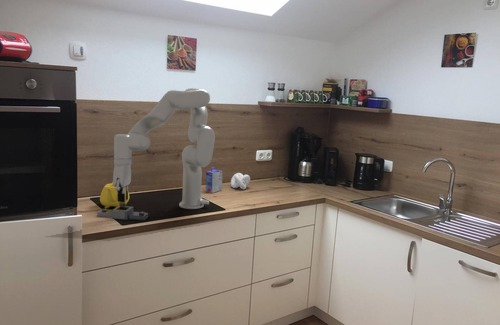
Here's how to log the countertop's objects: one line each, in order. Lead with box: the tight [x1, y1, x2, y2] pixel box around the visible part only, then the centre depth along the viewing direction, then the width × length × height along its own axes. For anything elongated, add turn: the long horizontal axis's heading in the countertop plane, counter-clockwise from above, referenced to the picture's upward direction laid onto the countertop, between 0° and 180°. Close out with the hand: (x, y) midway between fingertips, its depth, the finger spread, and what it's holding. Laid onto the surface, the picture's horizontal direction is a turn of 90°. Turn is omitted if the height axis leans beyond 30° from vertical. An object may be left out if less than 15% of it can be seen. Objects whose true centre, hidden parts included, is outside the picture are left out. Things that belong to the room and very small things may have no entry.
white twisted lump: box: [230, 172, 251, 191], centre depth 258 cm, size 11×12×9 cm
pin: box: [119, 185, 127, 207], centre depth 191 cm, size 3×3×10 cm
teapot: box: [99, 181, 130, 209], centre depth 207 cm, size 13×20×12 cm
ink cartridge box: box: [205, 166, 223, 194], centre depth 248 cm, size 10×6×14 cm, turn 148°
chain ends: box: [96, 205, 149, 221], centre depth 193 cm, size 22×7×4 cm, turn 84°
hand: (122, 200), depth 192 cm, fingers closed on pin, 3 cm apart
